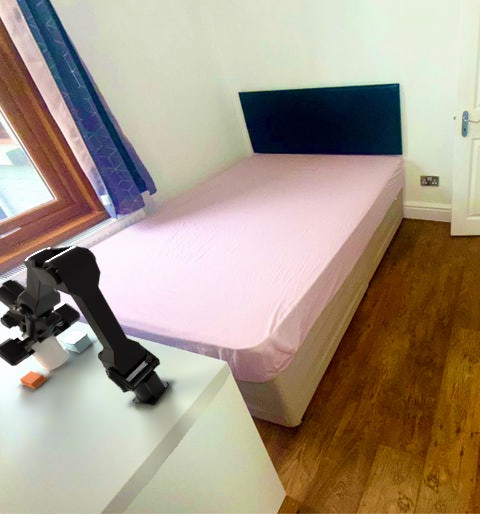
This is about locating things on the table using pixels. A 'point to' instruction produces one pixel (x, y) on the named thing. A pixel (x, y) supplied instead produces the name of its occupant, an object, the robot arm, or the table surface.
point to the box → (77, 341)
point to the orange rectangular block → (33, 379)
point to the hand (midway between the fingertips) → (41, 344)
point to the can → (49, 352)
